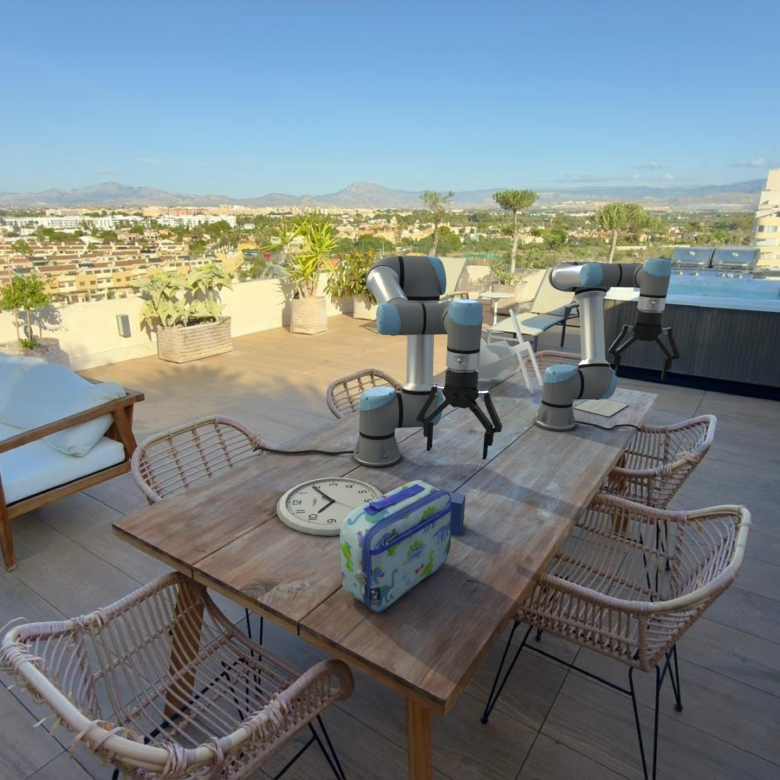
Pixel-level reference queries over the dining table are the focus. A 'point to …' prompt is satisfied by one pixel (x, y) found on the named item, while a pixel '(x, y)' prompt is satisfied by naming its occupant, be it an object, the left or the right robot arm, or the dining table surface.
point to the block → (457, 512)
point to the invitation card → (601, 407)
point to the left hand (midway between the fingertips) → (456, 453)
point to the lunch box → (394, 543)
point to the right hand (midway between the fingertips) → (639, 377)
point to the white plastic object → (506, 357)
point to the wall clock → (323, 504)
